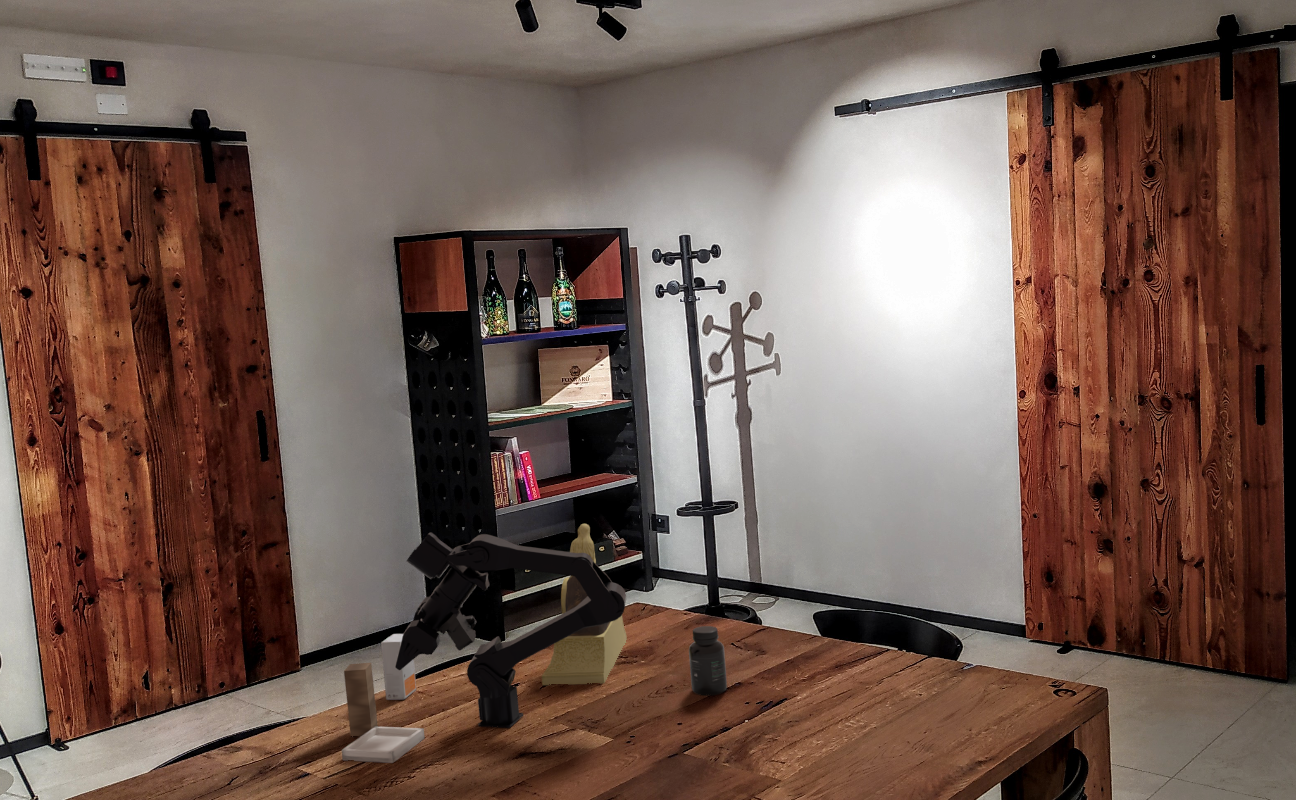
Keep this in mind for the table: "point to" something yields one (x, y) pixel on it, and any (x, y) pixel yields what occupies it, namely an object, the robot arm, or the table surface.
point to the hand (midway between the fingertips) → (402, 659)
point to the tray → (383, 744)
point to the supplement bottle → (707, 662)
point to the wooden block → (360, 698)
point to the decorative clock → (584, 635)
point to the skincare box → (396, 670)
